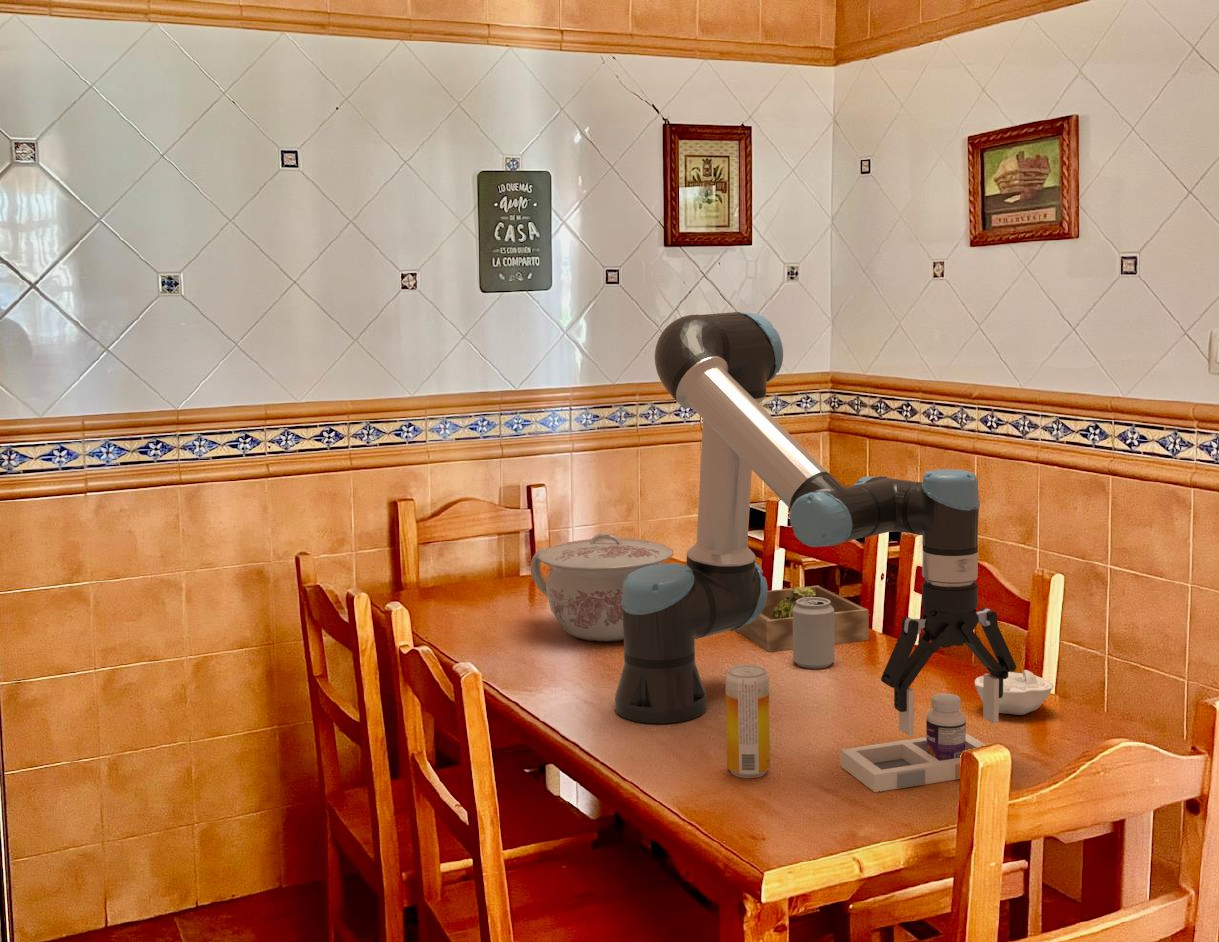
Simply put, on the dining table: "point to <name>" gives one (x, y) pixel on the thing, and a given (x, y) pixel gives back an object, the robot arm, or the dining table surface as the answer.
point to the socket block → (900, 764)
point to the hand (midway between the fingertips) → (948, 726)
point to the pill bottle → (945, 727)
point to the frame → (779, 632)
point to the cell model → (1020, 692)
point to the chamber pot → (593, 582)
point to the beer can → (747, 721)
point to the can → (813, 633)
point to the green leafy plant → (791, 602)
